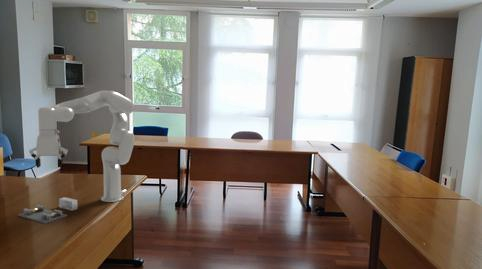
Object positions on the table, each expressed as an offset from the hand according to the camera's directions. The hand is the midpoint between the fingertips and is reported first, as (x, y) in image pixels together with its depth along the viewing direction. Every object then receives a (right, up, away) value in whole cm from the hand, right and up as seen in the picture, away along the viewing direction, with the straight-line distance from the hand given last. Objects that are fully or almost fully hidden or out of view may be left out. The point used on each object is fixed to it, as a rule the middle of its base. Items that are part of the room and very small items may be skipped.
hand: (49, 166), depth 170 cm
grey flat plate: (-6, -25, +4) cm, 26 cm away
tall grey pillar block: (+1, -24, +17) cm, 30 cm away
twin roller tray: (-6, -25, +4) cm, 26 cm away
